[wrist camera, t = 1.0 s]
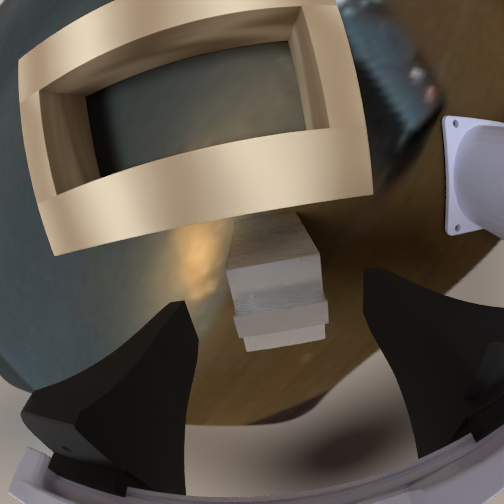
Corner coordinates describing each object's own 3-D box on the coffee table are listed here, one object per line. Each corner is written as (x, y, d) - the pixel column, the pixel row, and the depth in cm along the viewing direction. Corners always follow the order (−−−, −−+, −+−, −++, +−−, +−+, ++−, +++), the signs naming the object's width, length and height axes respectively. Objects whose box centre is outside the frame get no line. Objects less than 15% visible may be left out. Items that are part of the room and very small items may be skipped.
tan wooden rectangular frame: (303, 0, 10) (319, -39, 6) (340, 178, 14) (373, 194, 10) (63, 69, 11) (18, 60, 7) (94, 227, 15) (54, 256, 11)
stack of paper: (295, 211, 15) (325, 263, 9) (303, 274, 17) (329, 351, 10) (234, 221, 15) (223, 281, 9) (247, 284, 17) (246, 364, 11)
